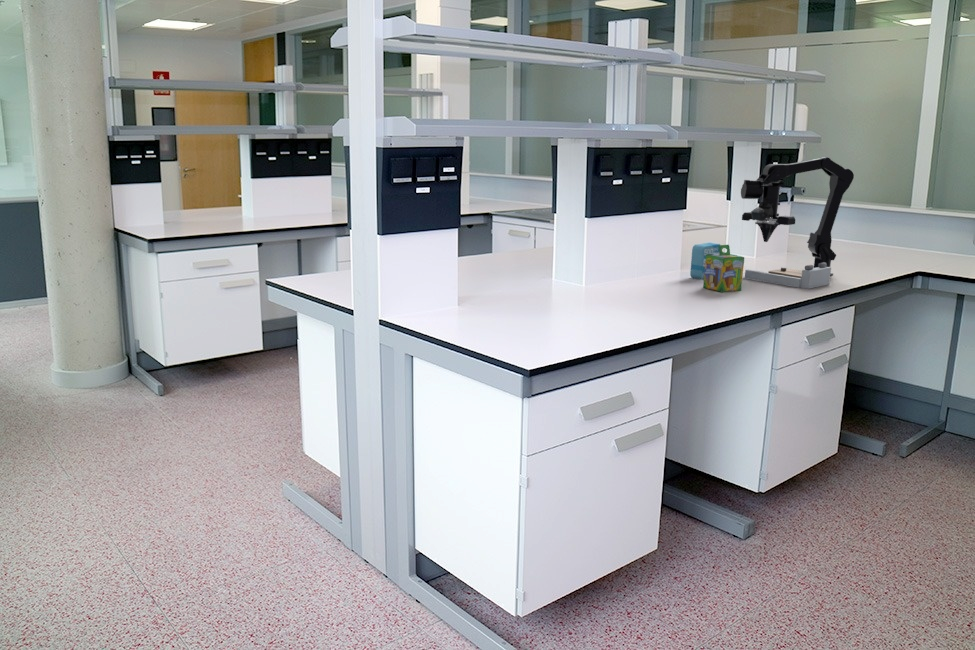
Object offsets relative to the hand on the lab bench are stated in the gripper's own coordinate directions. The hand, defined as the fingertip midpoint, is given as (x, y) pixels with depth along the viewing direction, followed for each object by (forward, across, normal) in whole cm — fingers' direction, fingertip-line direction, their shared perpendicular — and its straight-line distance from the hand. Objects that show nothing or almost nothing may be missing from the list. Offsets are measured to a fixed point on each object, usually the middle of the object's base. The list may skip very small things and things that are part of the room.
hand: (765, 241), depth 293 cm
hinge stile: (+12, +24, -6) cm, 27 cm away
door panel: (+12, +16, -6) cm, 21 cm away
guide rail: (+12, +12, -13) cm, 22 cm away
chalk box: (+12, +9, -39) cm, 42 cm away
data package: (+12, -8, -25) cm, 29 cm away
